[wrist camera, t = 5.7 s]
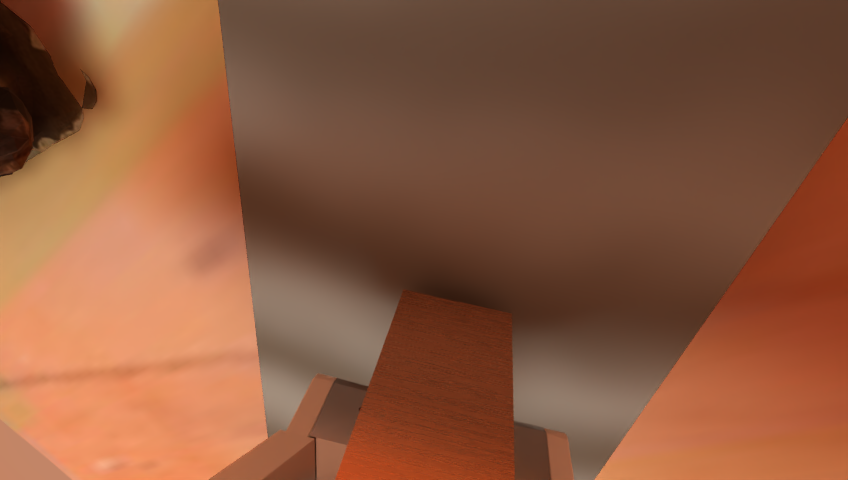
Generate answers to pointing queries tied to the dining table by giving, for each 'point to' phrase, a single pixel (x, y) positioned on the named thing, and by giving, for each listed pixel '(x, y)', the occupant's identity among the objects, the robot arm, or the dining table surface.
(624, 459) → the dining table surface
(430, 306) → the hook rod
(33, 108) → the pine cone
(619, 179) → the eye post
